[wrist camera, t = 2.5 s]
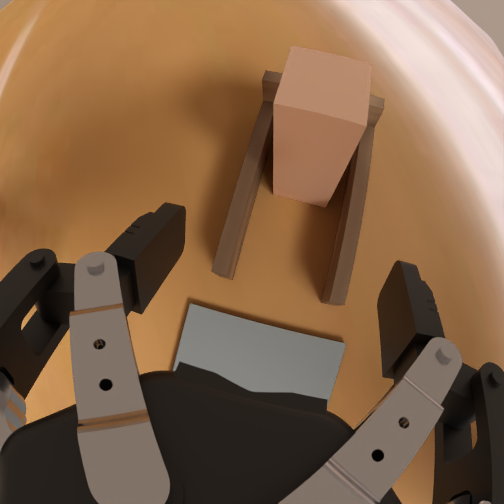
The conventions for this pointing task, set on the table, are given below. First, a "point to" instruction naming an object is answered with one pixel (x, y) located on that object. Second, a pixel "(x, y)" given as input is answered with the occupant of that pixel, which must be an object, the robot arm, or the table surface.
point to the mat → (259, 354)
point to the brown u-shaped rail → (250, 183)
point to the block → (317, 122)
